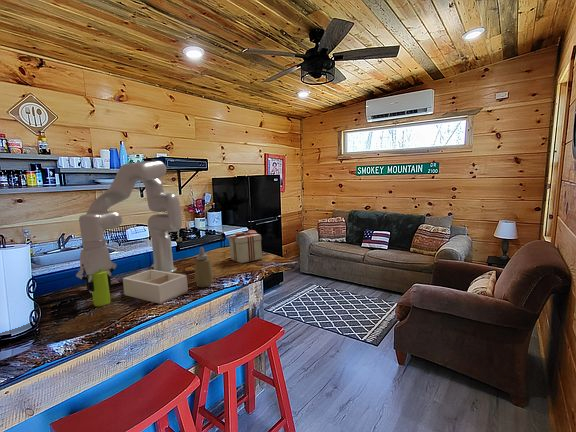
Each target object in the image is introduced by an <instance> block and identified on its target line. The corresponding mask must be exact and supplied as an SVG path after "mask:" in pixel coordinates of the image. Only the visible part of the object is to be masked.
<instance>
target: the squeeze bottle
mask: <svg viewBox="0 0 576 432" xmlns="http://www.w3.org/2000/svg"><path fill="white" fill-rule="evenodd" d="M208 257H209V256H208V254H207V253H205V250H204V247H202V246H201V247H199V254H197V255H196V260H195V261H194V263H195V264H194V280H195V283H196V284H197V287H199V288H206V287H210V286H211V285H212V284H213V283H212V282H213V279H214V273H213V270H212V264H211V260H210V258H208Z"/></svg>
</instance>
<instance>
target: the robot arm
mask: <svg viewBox="0 0 576 432" xmlns="http://www.w3.org/2000/svg"><path fill="white" fill-rule="evenodd" d="M166 173H167V166H166V164H165V163H164V162H163V161H161V160H149V161H148V160H143V161H136V162H130V163H124V164H121V166H120V167H119V168H118V171H117V173H116V175H115V177H114V179H113V180H112V182H111V184H110V186H109V188H108V189H107V190H105V191H104V192H103V193H101V194H100V195H99V196H98V197H97V198H96V199H94V200H93V202H92V203H91V204H90V206H89V208H88V209H87V212H86V213H85V214H82V215H80V216H79V218H78V221H79V228H80V229H79V231H80V237H81V244H82V249H81V250H80V255H79V267H80V269H79V270H78V271H77V273H76V274H75V277H77V278H79V279H80V280H82V281H84V282H85V284H86V289H87V290H88V291H92V292H93V291H94V285H93V282H92V281H91V280H92V275H93V274H95V273H98V271H99V269H101V270H102V271H107V277H108V285H109V287H110V286H111V285H112V284H111V283H112V278H111V277H112V274H113V272H114V270H115V269H116V268H117V264H116V263H115V262H113V261H112V259H111V254H110V252H109V248H108V247H107V246H106V243H108V239H106V238H105V235H104V230H105V231H106V230H113V229H118V228H119V227H120V225H121V224H122V223H123V217H122V215H121V214H120V213H118V212H117V211H112V210H111V211H110V210H109V208H111V207H113V206H115V205H117V204H119V203H122V202H123V201H125V200H127V199H129V198H130V196H131V194H132V192H133V189H134V187H135V185H136V183H137V182H141V183H142V184H143V186H144V189H145V195H146V201H147V206H148V209H149V210H150V211H151V212H153V213H156V214H152V215H151V216H150V217H148V219H147V227H148V229H149V233H150V239H151V247H152V256H153V257H152V259H153V264H151V268H153V270H157V271H163V272H169V273H175V272H176V271H177V269H178V268H177V267H176V266H174V259H173V257H174V256H173V251H172V250H173V249H172V240H171V236H170V234H169V233H170V232H171V233H172V232H178V231H180V230H181V228H182V226H183V220H182V219H183V218H182V211H181V203H180V199H179V197H178V196H177V195H176V194H174V193H170V192H169V193H165V192H164V186H163V182H162V180H161V178H163V177H164V176H166ZM108 210H109V211H108ZM163 212H164V213H163ZM165 212H167V213H165ZM83 274H84V275H83Z"/></svg>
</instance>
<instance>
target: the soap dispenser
mask: <svg viewBox="0 0 576 432" xmlns="http://www.w3.org/2000/svg"><path fill="white" fill-rule="evenodd" d="M91 281H92V282H93V285H94V291H93V292H92V294H91V295H92V302H93V306H94V307H102V306H103V307H104V306H107V305H108V304H110V303H112V300H111V293H110V286H109V285H108V277H107V271H102V270H101V269H99V271H98V273H95V274H93V275H92V280H91Z"/></svg>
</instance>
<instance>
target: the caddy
mask: <svg viewBox="0 0 576 432" xmlns="http://www.w3.org/2000/svg"><path fill="white" fill-rule="evenodd" d="M187 276H188V275H186V274H183V273H175V272H172V273H169V272H163V271H157V270H154V269H148V270H145V271H142V272H139V273H135V274H132V275H128V276H126V277H123V278H122V285H123V293H124V296H127V297H132V298H136V299H140V300H143V301H147V302H150V303H151V302H152V303H156V304H160V305H161V304H163V303H166V302H168V301H171V300H172V299H173V300H174V299H175V298H177V297H180V296H182V295H184V294H186V293H188V292H189V288H188V277H187Z"/></svg>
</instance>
